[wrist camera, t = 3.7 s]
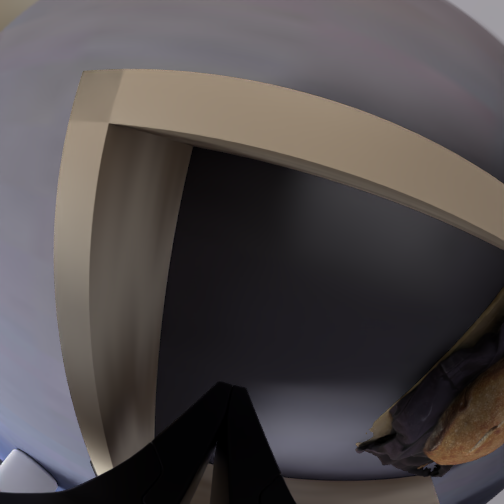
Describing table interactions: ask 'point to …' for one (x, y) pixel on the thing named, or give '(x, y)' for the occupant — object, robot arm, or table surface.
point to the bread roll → (449, 405)
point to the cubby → (165, 218)
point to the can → (24, 475)
